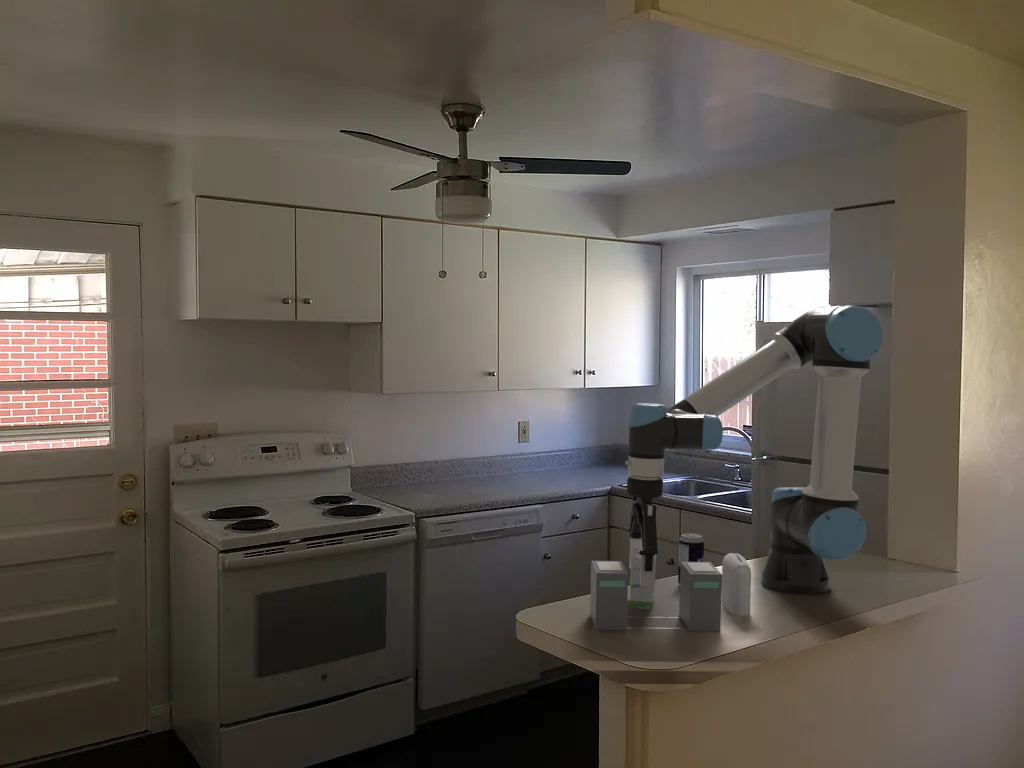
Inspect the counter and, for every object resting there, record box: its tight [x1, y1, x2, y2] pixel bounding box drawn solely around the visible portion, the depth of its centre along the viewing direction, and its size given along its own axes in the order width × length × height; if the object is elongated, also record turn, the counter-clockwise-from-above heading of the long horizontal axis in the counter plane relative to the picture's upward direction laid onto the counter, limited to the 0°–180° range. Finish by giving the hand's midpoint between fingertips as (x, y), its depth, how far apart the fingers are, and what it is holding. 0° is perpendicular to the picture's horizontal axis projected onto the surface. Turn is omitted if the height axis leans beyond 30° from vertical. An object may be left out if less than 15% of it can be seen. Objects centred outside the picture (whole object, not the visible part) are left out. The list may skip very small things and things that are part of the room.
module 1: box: [589, 560, 629, 631], centre depth 167 cm, size 6×9×11 cm, turn 1°
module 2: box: [678, 561, 722, 632], centre depth 168 cm, size 6×9×11 cm, turn 1°
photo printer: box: [721, 552, 752, 617], centre depth 178 cm, size 10×4×12 cm, turn 0°
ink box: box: [628, 548, 657, 610], centre depth 181 cm, size 9×5×12 cm, turn 168°
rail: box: [588, 615, 722, 631], centre depth 168 cm, size 25×8×1 cm, turn 91°
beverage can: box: [677, 532, 705, 585], centre depth 197 cm, size 6×6×12 cm
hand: (640, 576), depth 181 cm, fingers open, 13 cm apart
